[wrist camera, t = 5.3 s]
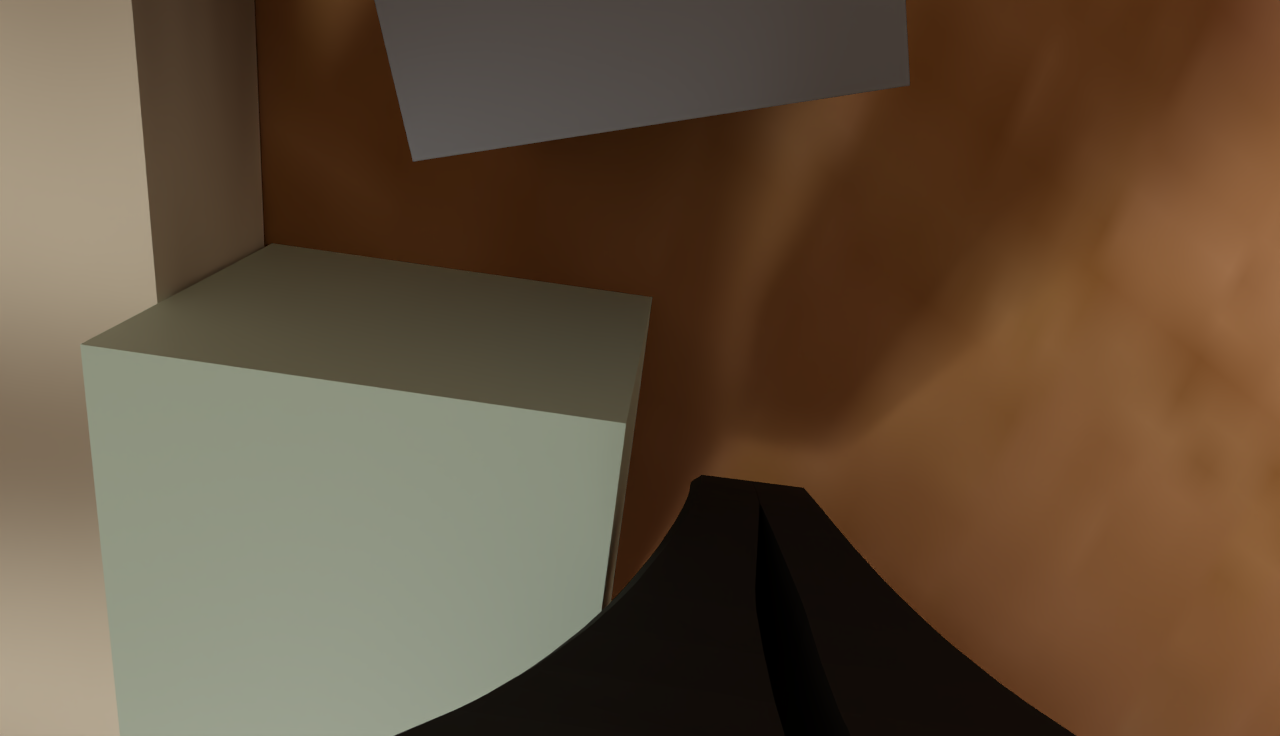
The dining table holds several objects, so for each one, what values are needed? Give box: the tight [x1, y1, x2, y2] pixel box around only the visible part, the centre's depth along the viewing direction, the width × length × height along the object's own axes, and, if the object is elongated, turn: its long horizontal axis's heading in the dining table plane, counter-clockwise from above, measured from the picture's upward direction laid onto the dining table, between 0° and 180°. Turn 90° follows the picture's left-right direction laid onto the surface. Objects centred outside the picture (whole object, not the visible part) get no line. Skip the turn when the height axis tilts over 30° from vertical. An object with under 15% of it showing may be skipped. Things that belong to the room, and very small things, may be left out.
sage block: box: [80, 243, 652, 736], centre depth 11 cm, size 5×5×4 cm
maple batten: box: [0, 0, 264, 736], centre depth 12 cm, size 24×3×2 cm, turn 174°
